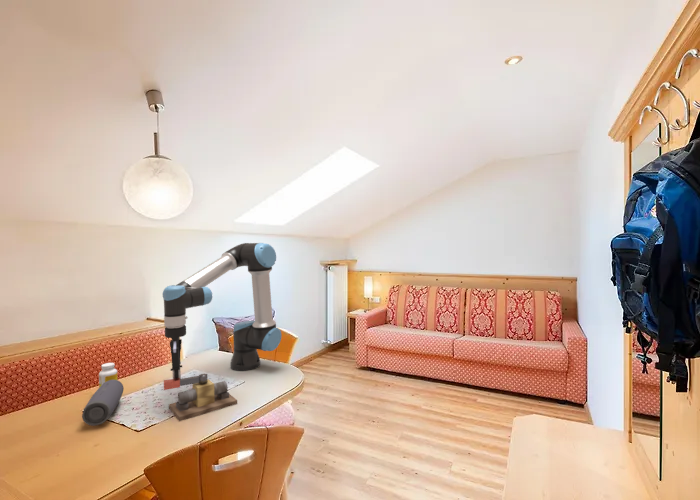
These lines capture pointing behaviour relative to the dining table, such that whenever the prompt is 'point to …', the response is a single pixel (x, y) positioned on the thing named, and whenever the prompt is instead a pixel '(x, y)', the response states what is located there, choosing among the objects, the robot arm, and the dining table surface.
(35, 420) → the dining table surface
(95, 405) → the bluetooth speaker
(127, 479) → the dining table surface
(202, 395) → the valve
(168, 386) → the lever
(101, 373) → the supplement bottle
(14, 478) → the dining table surface
